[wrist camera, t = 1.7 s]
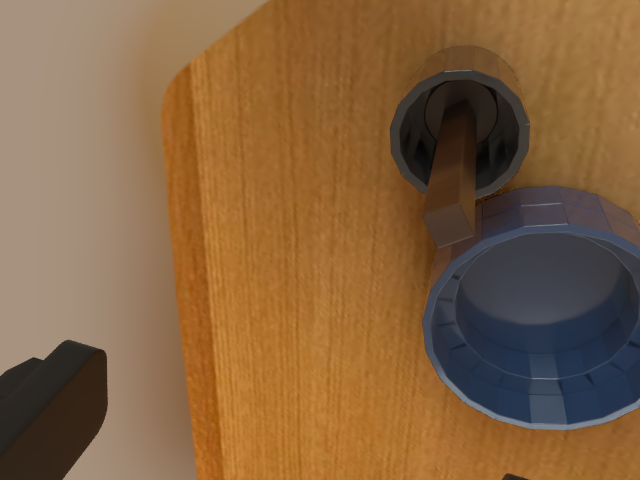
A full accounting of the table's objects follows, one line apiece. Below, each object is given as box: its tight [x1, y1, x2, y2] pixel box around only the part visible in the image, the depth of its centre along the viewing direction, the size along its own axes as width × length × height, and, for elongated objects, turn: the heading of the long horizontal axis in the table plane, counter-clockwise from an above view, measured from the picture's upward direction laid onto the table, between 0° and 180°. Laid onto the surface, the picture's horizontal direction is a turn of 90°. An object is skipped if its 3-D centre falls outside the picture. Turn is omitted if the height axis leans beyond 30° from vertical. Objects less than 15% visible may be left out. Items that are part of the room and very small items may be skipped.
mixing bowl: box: [422, 186, 640, 430], centre depth 37 cm, size 14×14×6 cm
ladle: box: [422, 80, 498, 248], centre depth 28 cm, size 4×4×16 cm
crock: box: [390, 46, 530, 200], centre depth 32 cm, size 7×7×7 cm
